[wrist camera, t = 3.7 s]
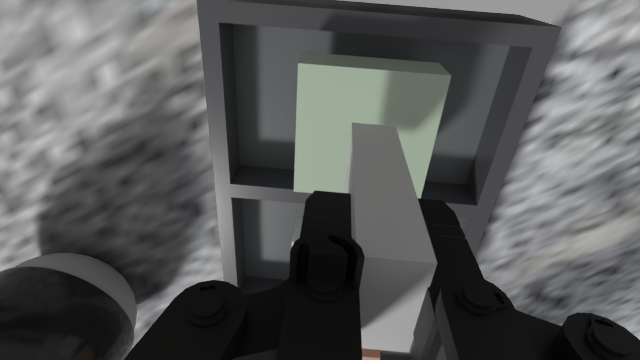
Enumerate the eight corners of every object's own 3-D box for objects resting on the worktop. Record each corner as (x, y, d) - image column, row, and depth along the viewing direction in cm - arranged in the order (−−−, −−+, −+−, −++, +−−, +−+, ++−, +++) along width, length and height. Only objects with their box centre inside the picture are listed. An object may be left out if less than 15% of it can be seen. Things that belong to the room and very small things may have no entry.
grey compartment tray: (411, 351, 31) (419, 400, 27) (246, 335, 31) (234, 382, 27) (518, 14, 17) (561, 27, 14) (225, -9, 17) (196, -2, 14)
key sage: (412, 179, 18) (419, 202, 16) (298, 169, 18) (293, 191, 16) (439, 63, 15) (451, 75, 13) (303, 51, 15) (298, 63, 13)
